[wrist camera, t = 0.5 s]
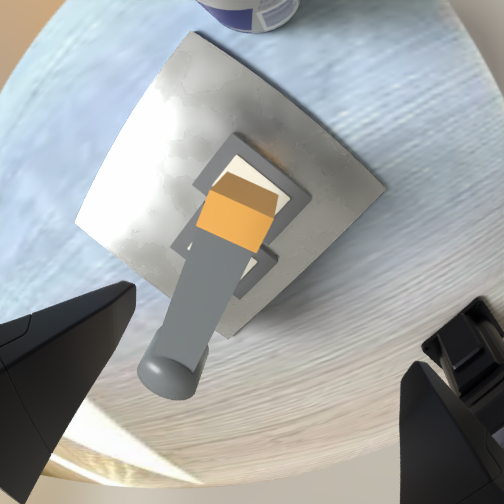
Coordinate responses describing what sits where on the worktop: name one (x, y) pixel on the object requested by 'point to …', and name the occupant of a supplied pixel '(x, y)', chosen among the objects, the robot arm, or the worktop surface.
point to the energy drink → (251, 13)
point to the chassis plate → (198, 156)
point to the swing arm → (207, 284)
